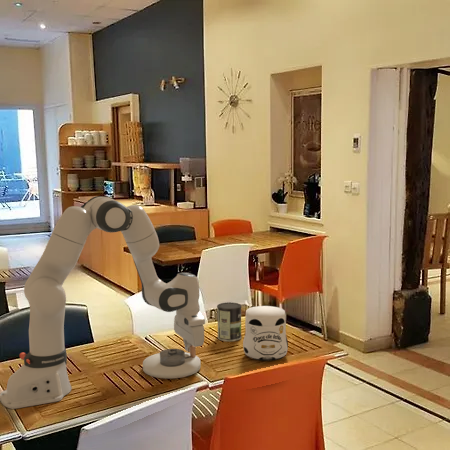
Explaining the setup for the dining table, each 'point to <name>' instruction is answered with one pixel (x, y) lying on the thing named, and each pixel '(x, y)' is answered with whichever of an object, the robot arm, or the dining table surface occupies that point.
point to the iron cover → (172, 357)
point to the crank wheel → (157, 370)
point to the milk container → (265, 333)
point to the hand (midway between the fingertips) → (188, 350)
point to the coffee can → (229, 321)
